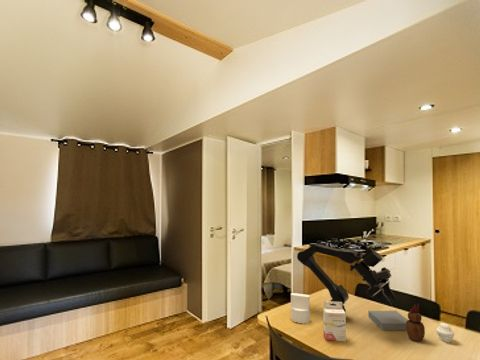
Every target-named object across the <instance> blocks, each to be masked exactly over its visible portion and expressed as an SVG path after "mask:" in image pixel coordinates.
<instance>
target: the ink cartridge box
mask: <svg viewBox="0 0 480 360" xmlns="http://www.w3.org/2000/svg"><path fill="white" fill-rule="evenodd" d="M330 304H336V306H333V305H330ZM322 309H323V311H322V312H323V319H322V321H323V336H324V339H325V341H333V340H334V341H335V342H346V341H347V317H346V316H347V313H345V312H344V310H343V309H342V302H332V301H330V300H329V301H327V300H326V301H323V308H322Z"/></svg>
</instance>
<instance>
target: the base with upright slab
mask: <svg viewBox="0 0 480 360" xmlns="http://www.w3.org/2000/svg"><path fill="white" fill-rule="evenodd" d="M310 305H311V304H310V294H304V293H297V292H292V293H290V313H291V316H290V318H291V319H292V320H293V321H294V322H293V321H292V320H291V319H290V320H291V321H292V322H293V323H295V322H298V323H297V324H299V323H306V324H308V322H309V321H310V322H311V319H310V317H311V315H310V314H311V312H310V311H311V310H310V307H311V306H310ZM310 322H309V323H310Z"/></svg>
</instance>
